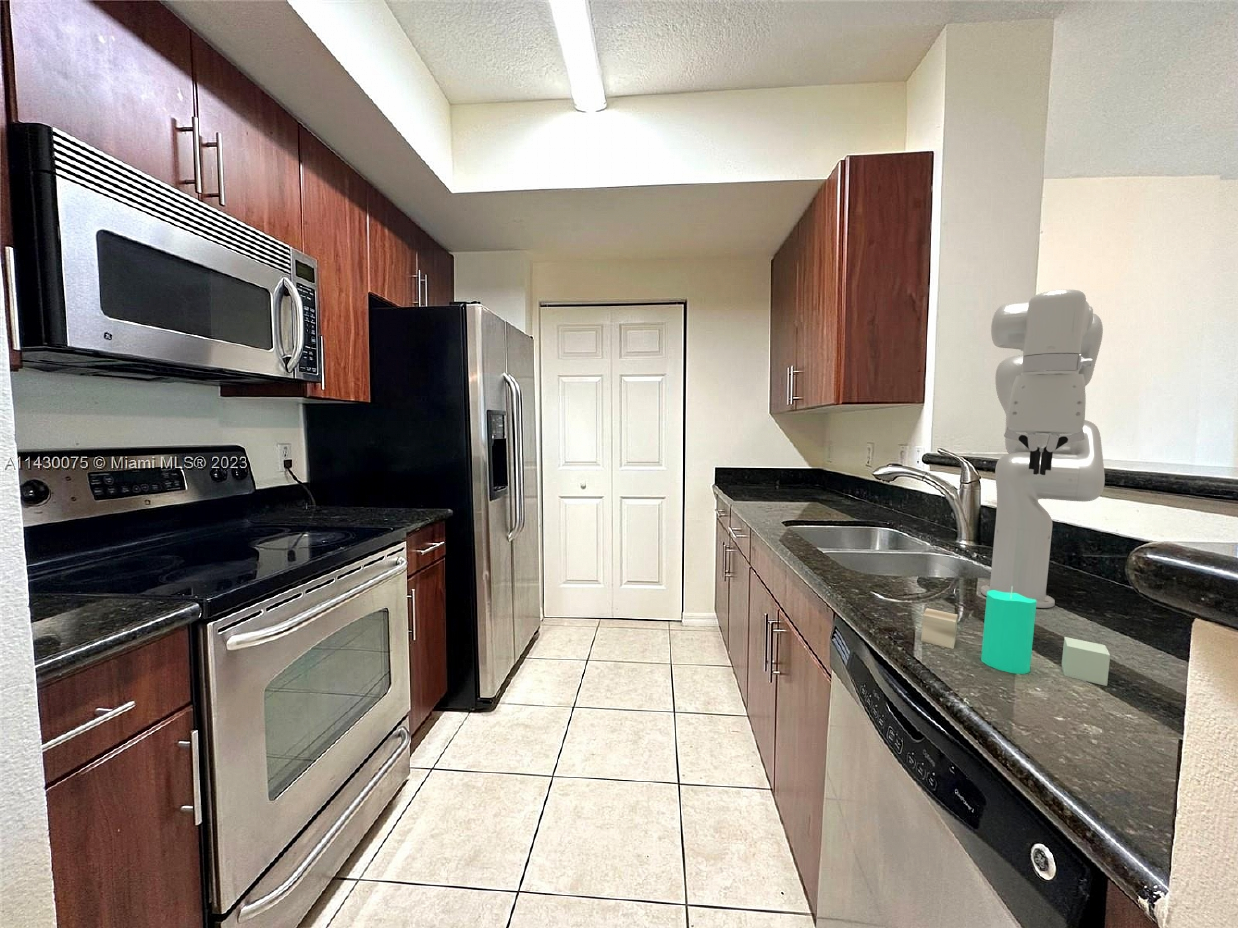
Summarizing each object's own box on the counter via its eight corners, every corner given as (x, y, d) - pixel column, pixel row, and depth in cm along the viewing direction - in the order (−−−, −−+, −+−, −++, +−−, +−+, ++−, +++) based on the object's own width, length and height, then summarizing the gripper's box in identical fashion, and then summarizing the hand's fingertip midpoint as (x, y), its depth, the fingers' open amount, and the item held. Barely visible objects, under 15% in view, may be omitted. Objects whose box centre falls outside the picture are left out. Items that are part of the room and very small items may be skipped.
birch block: (924, 633, 88) (926, 608, 88) (955, 640, 86) (957, 614, 85) (920, 641, 85) (923, 614, 85) (953, 649, 82) (955, 621, 82)
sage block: (1061, 665, 78) (1064, 636, 77) (1101, 675, 75) (1105, 645, 75) (1064, 676, 74) (1067, 645, 74) (1106, 686, 71) (1110, 655, 71)
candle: (1037, 677, 73) (1045, 594, 72) (987, 668, 75) (994, 588, 75) (1021, 660, 79) (1028, 583, 78) (975, 652, 81) (982, 578, 80)
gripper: (1107, 367, 86) (1095, 476, 87) (996, 370, 95) (987, 469, 97) (1113, 363, 80) (1100, 480, 82) (994, 367, 89) (985, 472, 91)
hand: (1039, 473), depth 89 cm, fingers closed
